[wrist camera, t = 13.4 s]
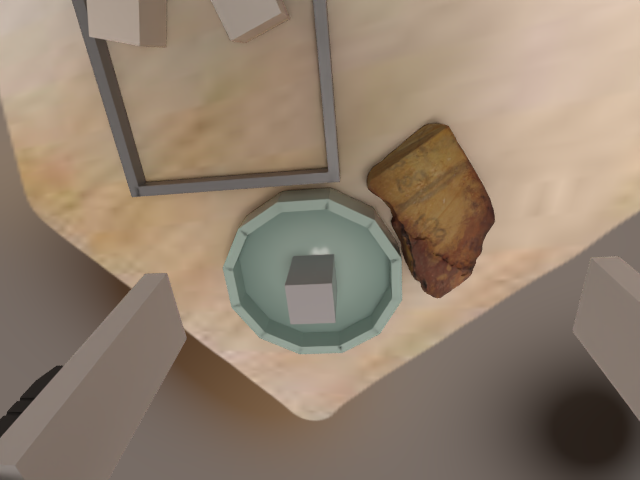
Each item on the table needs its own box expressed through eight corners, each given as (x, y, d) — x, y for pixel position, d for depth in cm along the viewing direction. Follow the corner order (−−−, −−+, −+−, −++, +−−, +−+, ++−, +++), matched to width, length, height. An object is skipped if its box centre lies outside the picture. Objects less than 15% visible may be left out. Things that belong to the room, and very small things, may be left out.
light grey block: (120, -13, 34) (84, -24, 29) (166, -4, 34) (138, -14, 29) (122, 39, 36) (89, 36, 31) (166, 47, 36) (139, 46, 31)
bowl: (220, 195, 41) (209, 207, 38) (396, 182, 39) (400, 194, 36) (249, 336, 48) (242, 355, 45) (399, 331, 47) (402, 351, 43)
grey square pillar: (293, 256, 42) (284, 285, 37) (334, 253, 42) (331, 283, 36) (297, 291, 44) (290, 324, 39) (337, 289, 44) (335, 322, 38)
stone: (358, 159, 39) (359, 174, 34) (449, 114, 36) (464, 123, 32) (416, 279, 44) (425, 306, 39) (499, 246, 42) (519, 271, 37)
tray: (72, -37, 33) (59, -41, 32) (321, -71, 31) (319, -78, 30) (139, 192, 42) (131, 197, 40) (340, 177, 39) (339, 181, 38)
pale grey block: (220, -10, 33) (200, -21, 29) (266, -38, 32) (252, -53, 28) (246, 42, 35) (230, 41, 30) (290, 18, 34) (281, 12, 29)
